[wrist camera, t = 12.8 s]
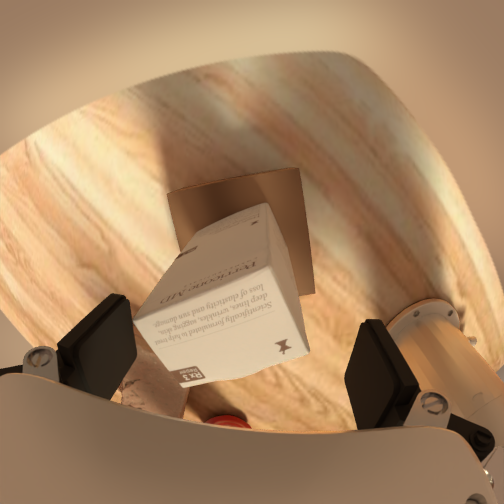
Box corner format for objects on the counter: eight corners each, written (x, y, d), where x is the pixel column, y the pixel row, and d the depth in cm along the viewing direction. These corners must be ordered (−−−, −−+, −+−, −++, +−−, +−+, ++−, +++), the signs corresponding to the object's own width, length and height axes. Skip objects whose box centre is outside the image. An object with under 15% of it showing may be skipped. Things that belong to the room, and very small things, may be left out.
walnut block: (291, 167, 24) (298, 168, 19) (306, 270, 27) (315, 293, 22) (184, 187, 25) (166, 193, 20) (207, 285, 28) (197, 310, 23)
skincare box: (266, 198, 20) (274, 251, 9) (290, 252, 21) (319, 354, 10) (192, 232, 21) (122, 314, 10) (218, 282, 22) (182, 394, 11)
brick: (134, 316, 30) (117, 339, 25) (202, 339, 30) (194, 366, 26) (131, 400, 35) (120, 422, 30) (183, 418, 35) (176, 442, 31)
